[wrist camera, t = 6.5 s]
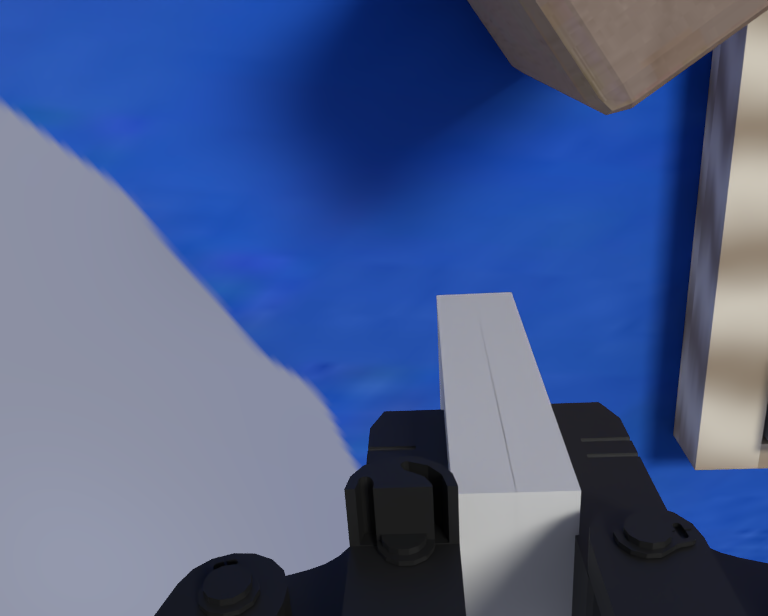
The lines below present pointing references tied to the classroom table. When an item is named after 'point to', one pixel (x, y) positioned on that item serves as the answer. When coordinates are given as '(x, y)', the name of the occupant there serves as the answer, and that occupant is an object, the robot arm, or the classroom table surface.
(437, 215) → the classroom table surface
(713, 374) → the button panel
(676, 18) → the wooden block
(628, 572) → the robot arm
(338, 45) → the classroom table surface
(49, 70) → the classroom table surface
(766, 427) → the charcoal button
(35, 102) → the classroom table surface
